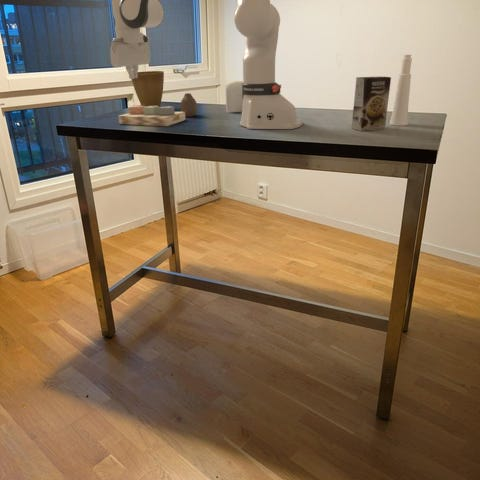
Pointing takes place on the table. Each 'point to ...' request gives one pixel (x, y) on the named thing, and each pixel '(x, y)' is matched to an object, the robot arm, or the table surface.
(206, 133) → the table surface
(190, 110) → the vase
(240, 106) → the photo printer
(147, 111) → the button three
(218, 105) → the table surface
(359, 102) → the cookie box
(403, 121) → the cosmetic bottle
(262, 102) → the robot arm
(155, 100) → the plant pot
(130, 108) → the button one
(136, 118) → the button panel
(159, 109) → the button two
